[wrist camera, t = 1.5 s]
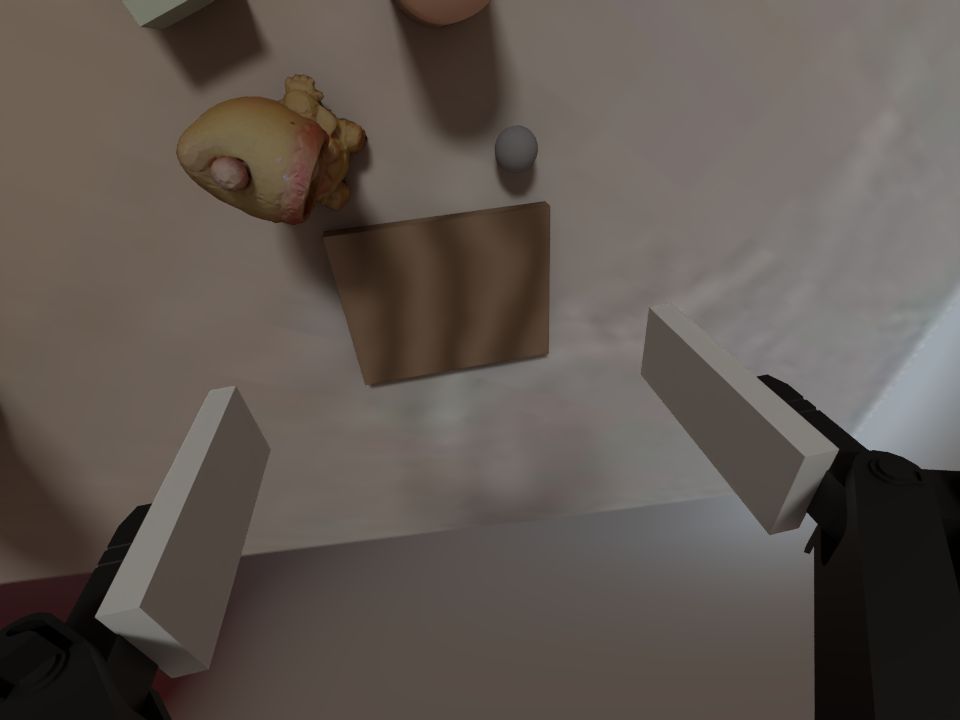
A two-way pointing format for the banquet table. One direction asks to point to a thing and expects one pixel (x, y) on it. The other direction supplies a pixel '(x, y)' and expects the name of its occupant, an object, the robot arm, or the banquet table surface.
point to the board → (445, 290)
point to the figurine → (273, 153)
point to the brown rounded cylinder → (440, 10)
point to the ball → (516, 149)
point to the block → (162, 11)
